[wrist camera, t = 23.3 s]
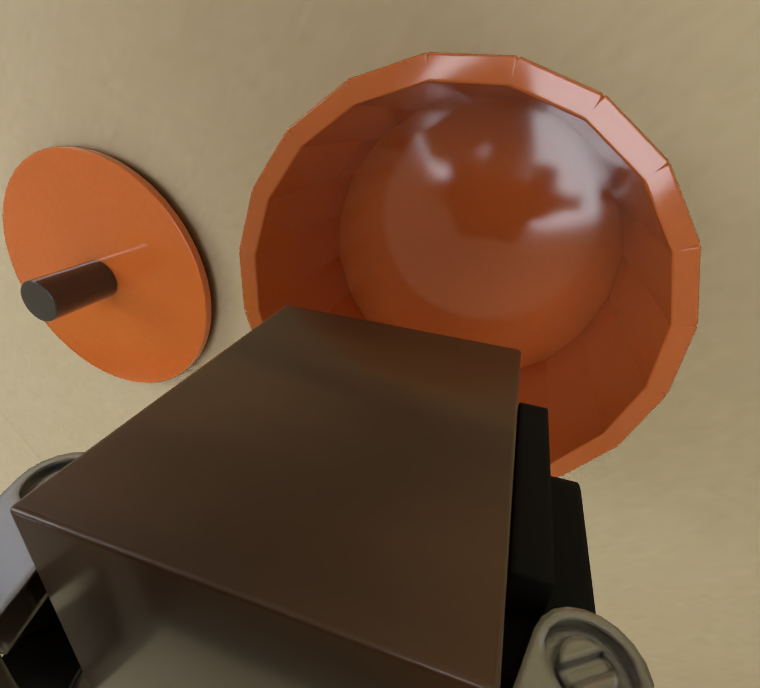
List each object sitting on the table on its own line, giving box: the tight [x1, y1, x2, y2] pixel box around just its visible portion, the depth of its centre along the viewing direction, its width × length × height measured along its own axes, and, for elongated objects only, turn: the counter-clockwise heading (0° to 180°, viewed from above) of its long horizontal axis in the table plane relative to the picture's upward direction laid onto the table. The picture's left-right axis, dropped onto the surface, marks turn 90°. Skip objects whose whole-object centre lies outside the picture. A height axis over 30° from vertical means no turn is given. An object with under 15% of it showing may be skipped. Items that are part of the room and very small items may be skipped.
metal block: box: [10, 305, 521, 688], centre depth 8 cm, size 5×5×6 cm
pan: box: [239, 52, 701, 477], centre depth 19 cm, size 15×15×9 cm
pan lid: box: [3, 146, 212, 383], centre depth 29 cm, size 16×16×6 cm
